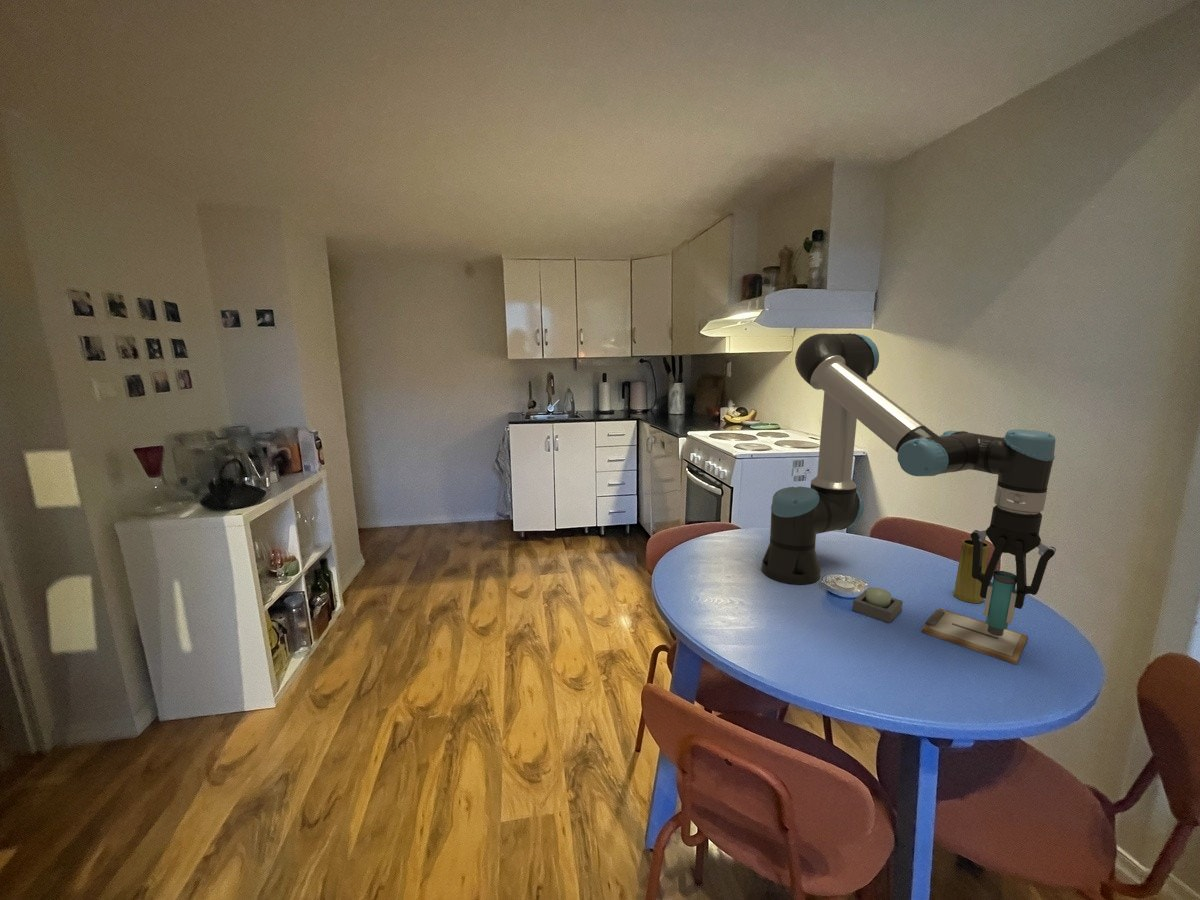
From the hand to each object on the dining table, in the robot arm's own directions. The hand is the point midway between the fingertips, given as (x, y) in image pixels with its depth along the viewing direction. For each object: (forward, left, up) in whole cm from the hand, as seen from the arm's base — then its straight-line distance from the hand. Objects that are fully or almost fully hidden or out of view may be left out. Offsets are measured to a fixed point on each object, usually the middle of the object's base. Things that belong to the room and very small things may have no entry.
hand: (998, 616), depth 103 cm
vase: (-8, +19, -6) cm, 22 cm away
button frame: (-21, -4, -6) cm, 22 cm away
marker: (0, 0, -4) cm, 4 cm away
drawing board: (-3, 0, -6) cm, 7 cm away
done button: (-21, -4, -4) cm, 22 cm away
